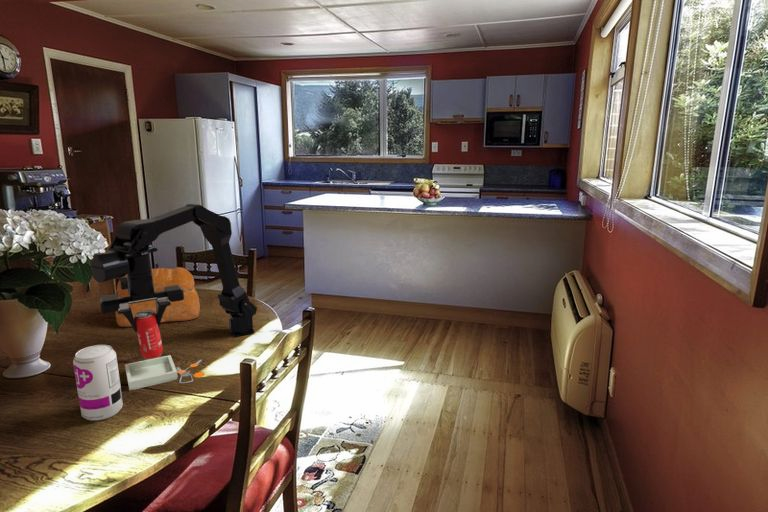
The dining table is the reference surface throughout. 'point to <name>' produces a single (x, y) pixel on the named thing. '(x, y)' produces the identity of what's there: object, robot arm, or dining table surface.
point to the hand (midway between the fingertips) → (147, 329)
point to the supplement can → (98, 382)
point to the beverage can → (148, 334)
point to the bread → (177, 309)
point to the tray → (150, 372)
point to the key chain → (189, 372)
